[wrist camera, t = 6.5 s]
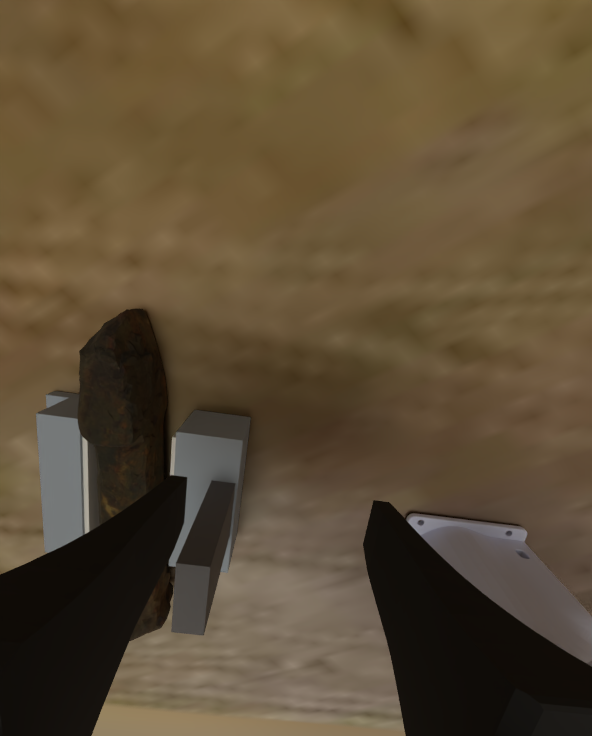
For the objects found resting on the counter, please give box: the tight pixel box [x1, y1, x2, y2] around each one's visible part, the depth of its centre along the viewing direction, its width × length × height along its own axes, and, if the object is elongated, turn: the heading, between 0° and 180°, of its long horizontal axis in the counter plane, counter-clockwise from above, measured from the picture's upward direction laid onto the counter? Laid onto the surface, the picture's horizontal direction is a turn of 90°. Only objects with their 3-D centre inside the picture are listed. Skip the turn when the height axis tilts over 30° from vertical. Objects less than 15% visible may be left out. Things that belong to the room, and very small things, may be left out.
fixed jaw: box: [36, 391, 100, 552], centre depth 21 cm, size 4×10×4 cm, turn 172°
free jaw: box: [169, 410, 251, 635], centre depth 18 cm, size 4×10×10 cm, turn 172°
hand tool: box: [77, 309, 173, 641], centre depth 20 cm, size 23×5×6 cm, turn 172°
